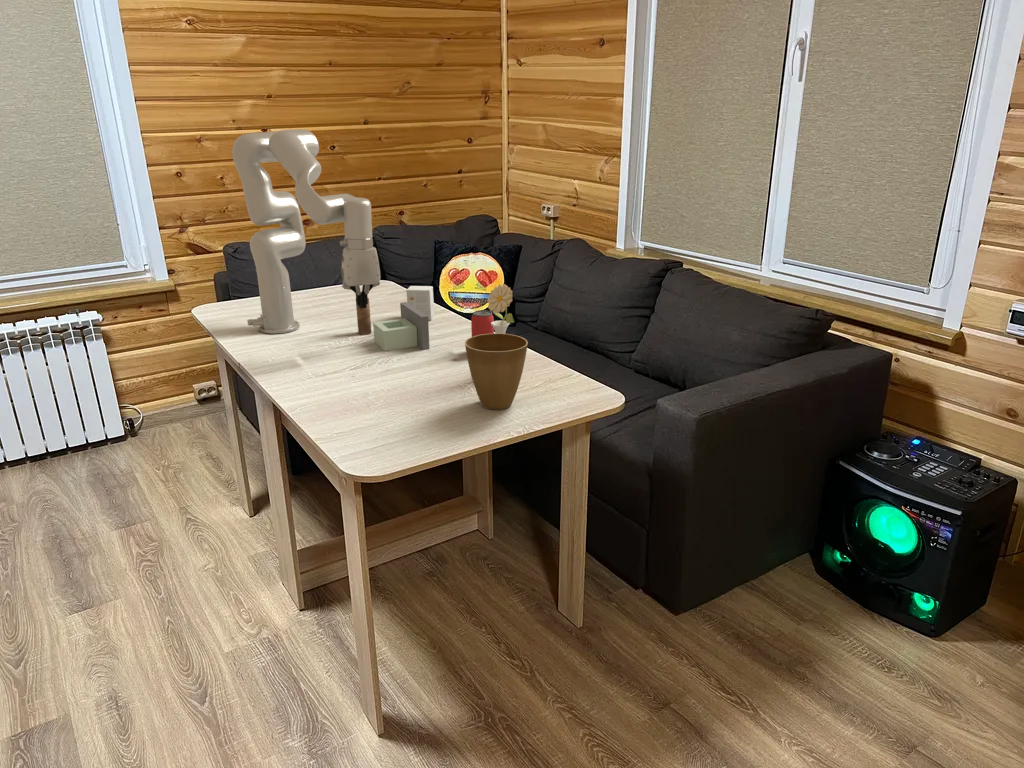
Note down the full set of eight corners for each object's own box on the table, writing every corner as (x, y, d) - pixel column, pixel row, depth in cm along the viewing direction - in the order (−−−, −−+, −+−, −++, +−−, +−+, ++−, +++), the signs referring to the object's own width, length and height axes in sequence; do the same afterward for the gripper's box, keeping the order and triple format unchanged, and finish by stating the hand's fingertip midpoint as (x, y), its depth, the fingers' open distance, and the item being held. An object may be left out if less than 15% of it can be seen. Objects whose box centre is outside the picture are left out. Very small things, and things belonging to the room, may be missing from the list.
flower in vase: (473, 367, 207) (471, 279, 198) (511, 362, 211) (511, 275, 202) (491, 383, 196) (490, 290, 187) (530, 377, 200) (531, 285, 191)
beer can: (498, 351, 220) (498, 312, 215) (483, 357, 215) (482, 317, 211) (483, 347, 224) (482, 308, 220) (467, 352, 219) (466, 312, 215)
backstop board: (356, 364, 210) (353, 326, 206) (338, 346, 225) (335, 310, 221) (429, 352, 219) (428, 316, 215) (408, 336, 234) (406, 301, 230)
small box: (434, 316, 255) (433, 285, 251) (431, 320, 250) (430, 290, 246) (411, 315, 256) (410, 285, 252) (407, 320, 251) (406, 289, 247)
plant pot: (535, 412, 178) (536, 348, 173) (474, 419, 174) (473, 354, 169) (517, 389, 192) (517, 330, 186) (460, 396, 188) (458, 335, 182)
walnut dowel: (360, 339, 231) (357, 301, 227) (357, 335, 235) (354, 298, 230) (373, 337, 233) (370, 299, 229) (369, 333, 236) (366, 296, 232)
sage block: (385, 351, 217) (383, 331, 215) (374, 341, 225) (373, 322, 223) (417, 346, 221) (416, 326, 219) (405, 337, 230) (404, 318, 227)
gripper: (336, 248, 202) (340, 313, 209) (389, 244, 209) (391, 307, 216) (328, 242, 208) (333, 306, 215) (380, 239, 215) (382, 301, 222)
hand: (362, 306), depth 215 cm, fingers closed
